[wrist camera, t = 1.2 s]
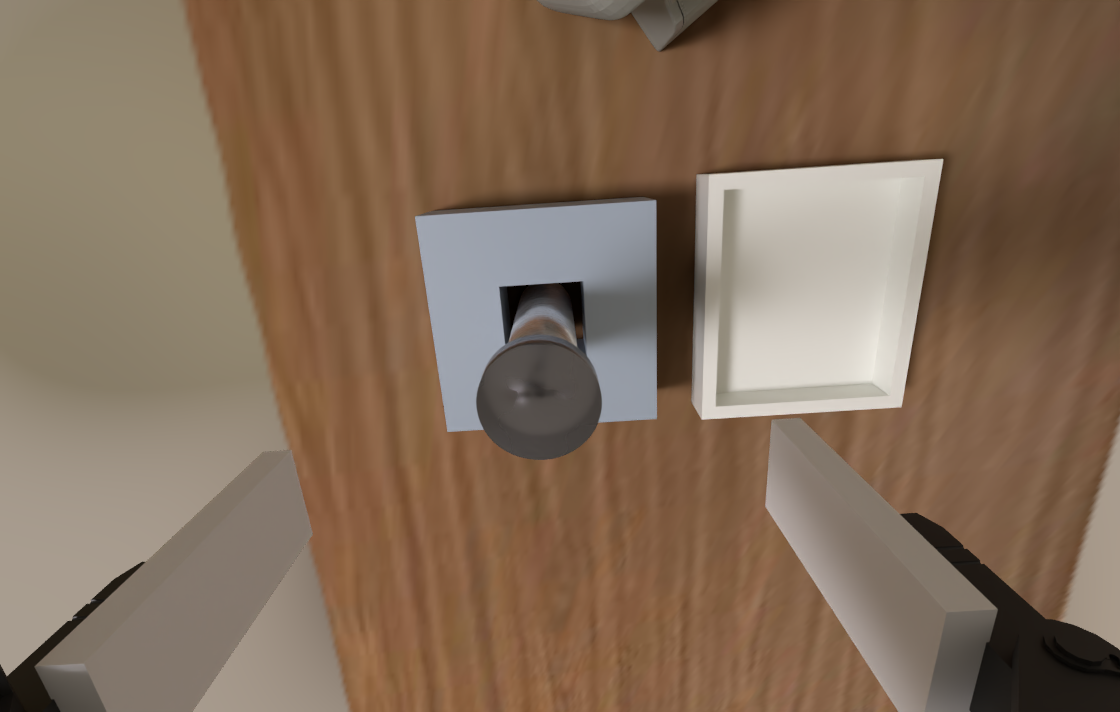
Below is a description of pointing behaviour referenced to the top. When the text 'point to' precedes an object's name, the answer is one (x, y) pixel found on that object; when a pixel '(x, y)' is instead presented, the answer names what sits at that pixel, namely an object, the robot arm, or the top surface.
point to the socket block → (540, 258)
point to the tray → (808, 286)
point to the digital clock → (640, 14)
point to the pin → (540, 381)
